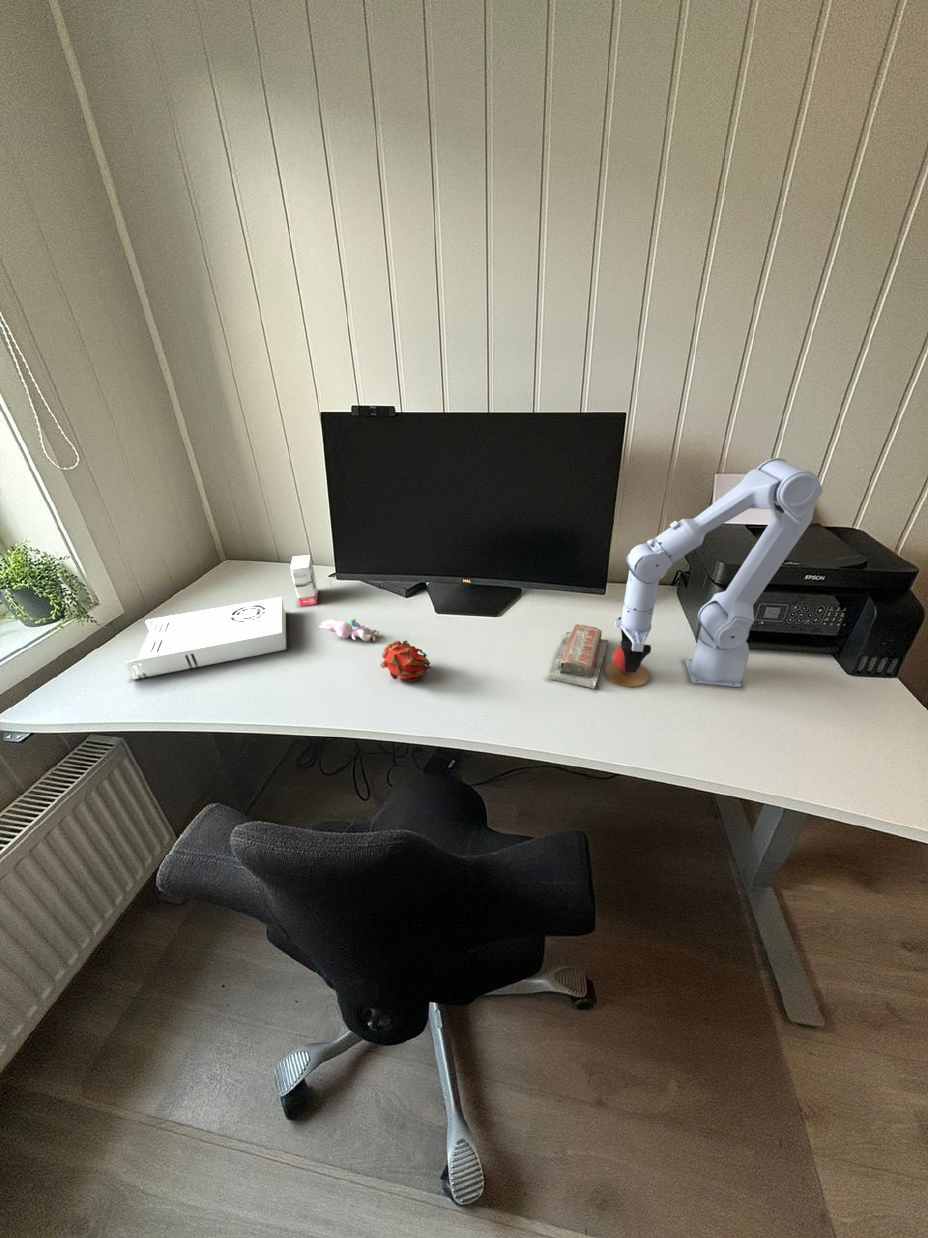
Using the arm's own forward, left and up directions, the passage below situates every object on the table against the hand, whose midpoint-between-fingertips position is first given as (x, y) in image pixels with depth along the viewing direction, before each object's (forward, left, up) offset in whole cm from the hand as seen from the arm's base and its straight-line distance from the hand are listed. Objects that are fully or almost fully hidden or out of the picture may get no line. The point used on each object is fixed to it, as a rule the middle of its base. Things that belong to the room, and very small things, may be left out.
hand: (628, 660), depth 102 cm
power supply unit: (+98, +4, -4) cm, 98 cm away
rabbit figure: (+66, -4, -4) cm, 66 cm away
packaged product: (+10, -3, -4) cm, 11 cm away
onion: (0, 0, -3) cm, 4 cm away
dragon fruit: (+47, +8, -4) cm, 48 cm away
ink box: (+86, -21, -4) cm, 89 cm away
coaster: (0, 0, -4) cm, 4 cm away
